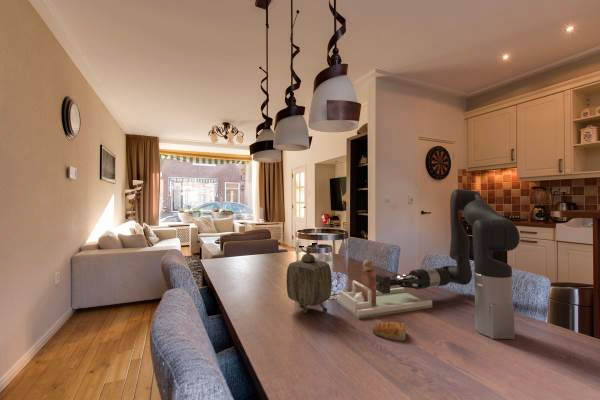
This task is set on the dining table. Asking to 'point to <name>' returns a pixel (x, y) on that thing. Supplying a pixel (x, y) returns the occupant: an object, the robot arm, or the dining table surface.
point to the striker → (373, 281)
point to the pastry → (390, 330)
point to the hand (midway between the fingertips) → (386, 282)
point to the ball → (359, 298)
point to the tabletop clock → (309, 281)
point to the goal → (351, 302)
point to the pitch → (391, 304)
